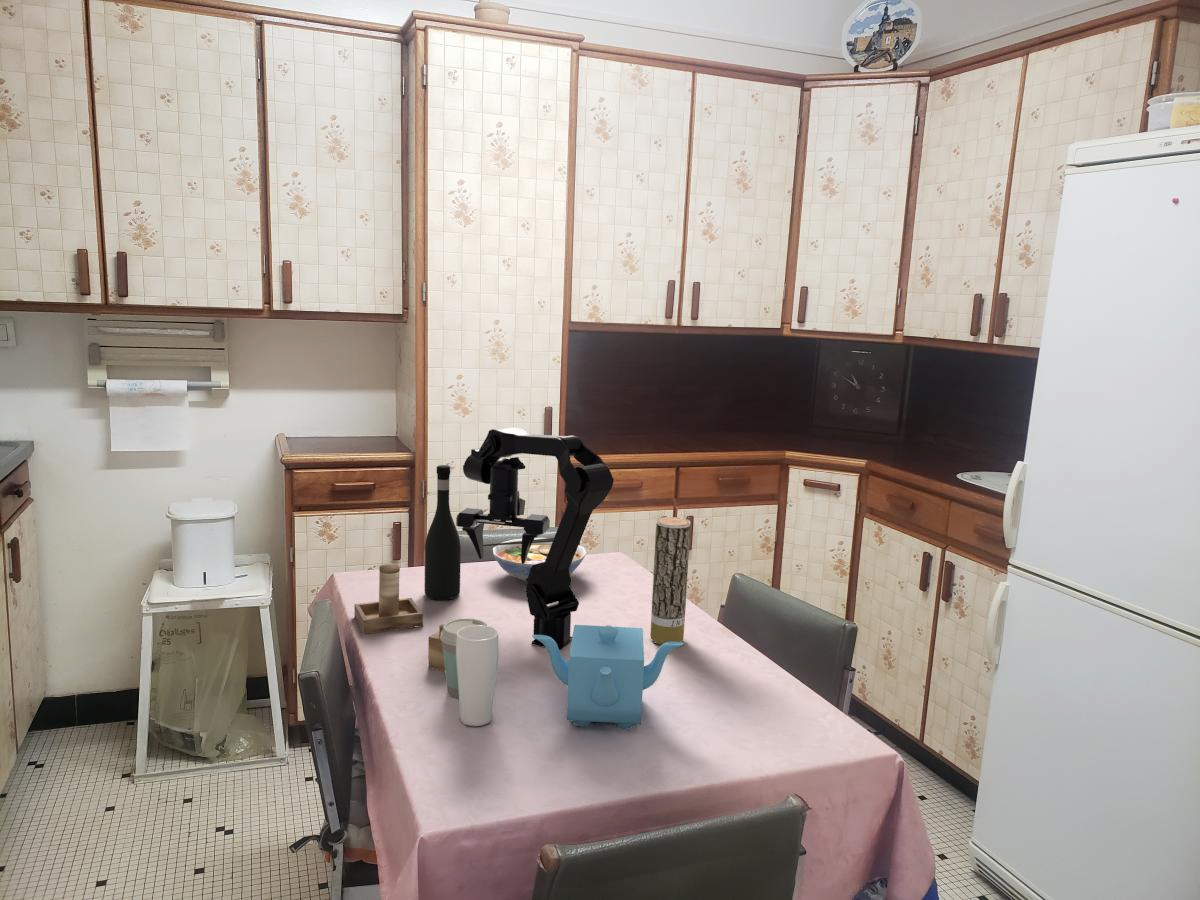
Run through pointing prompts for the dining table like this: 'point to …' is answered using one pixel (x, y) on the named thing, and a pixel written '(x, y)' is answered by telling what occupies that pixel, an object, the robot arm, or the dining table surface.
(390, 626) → the walnut tray
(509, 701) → the dining table surface
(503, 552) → the ramen bowl
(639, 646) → the teakettle
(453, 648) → the coffee cup
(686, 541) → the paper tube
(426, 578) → the wine bottle
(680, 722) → the dining table surface
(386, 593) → the beech dowel
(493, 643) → the drinking glass
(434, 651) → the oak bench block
